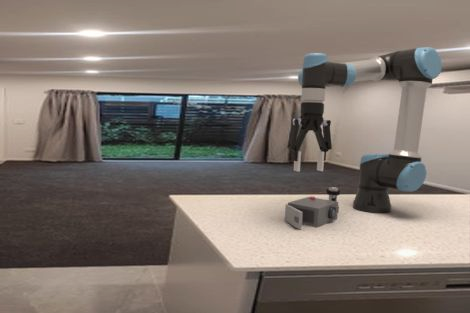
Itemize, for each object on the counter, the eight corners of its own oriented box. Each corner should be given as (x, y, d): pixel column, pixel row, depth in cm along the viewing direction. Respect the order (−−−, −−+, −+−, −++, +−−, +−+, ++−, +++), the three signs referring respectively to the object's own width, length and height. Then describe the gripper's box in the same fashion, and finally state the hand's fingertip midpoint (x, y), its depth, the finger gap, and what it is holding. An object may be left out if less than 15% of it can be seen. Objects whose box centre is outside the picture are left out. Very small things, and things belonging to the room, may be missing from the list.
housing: (308, 213, 156) (309, 194, 155) (340, 219, 147) (341, 200, 147) (286, 220, 143) (287, 200, 142) (320, 228, 135) (321, 207, 134)
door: (287, 219, 143) (287, 204, 142) (301, 228, 132) (302, 212, 131) (282, 219, 142) (283, 204, 142) (297, 229, 131) (298, 212, 131)
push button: (329, 215, 154) (331, 189, 153) (319, 212, 158) (321, 187, 157) (341, 213, 157) (343, 188, 156) (331, 210, 162) (333, 186, 161)
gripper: (332, 103, 138) (328, 168, 141) (278, 100, 130) (275, 169, 133) (346, 103, 131) (341, 171, 134) (290, 100, 123) (286, 173, 126)
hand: (308, 170), depth 133 cm, fingers open, 8 cm apart
